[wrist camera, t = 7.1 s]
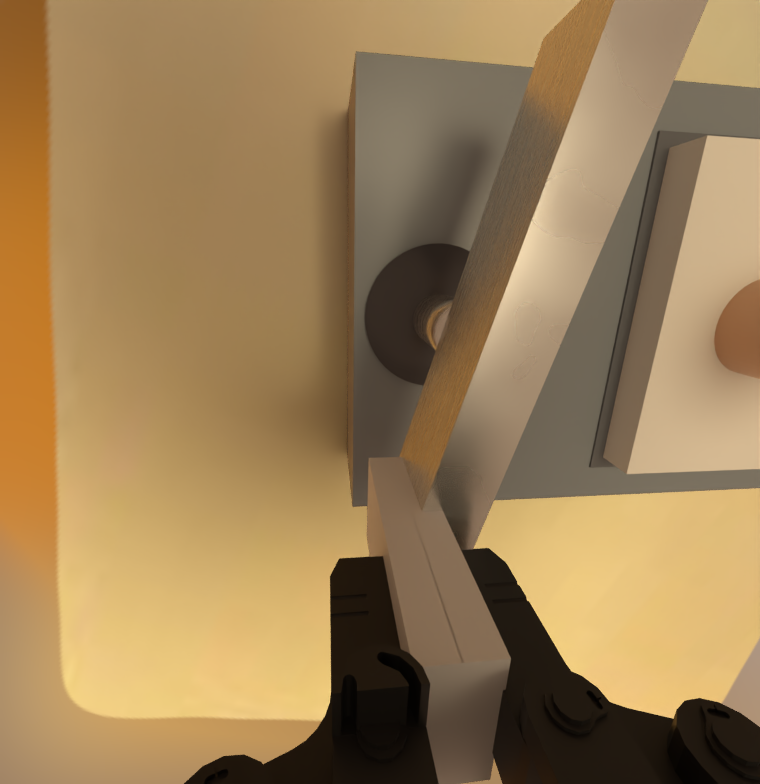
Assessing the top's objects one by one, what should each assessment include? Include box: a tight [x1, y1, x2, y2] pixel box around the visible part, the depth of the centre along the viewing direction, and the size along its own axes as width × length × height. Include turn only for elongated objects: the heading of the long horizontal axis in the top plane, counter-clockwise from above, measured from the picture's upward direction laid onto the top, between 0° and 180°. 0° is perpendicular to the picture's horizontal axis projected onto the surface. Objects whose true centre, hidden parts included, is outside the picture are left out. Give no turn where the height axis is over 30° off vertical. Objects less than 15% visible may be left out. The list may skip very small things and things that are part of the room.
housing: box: [347, 51, 760, 507], centre depth 18 cm, size 16×21×5 cm
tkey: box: [399, 0, 708, 550], centre depth 12 cm, size 2×14×6 cm, turn 164°
